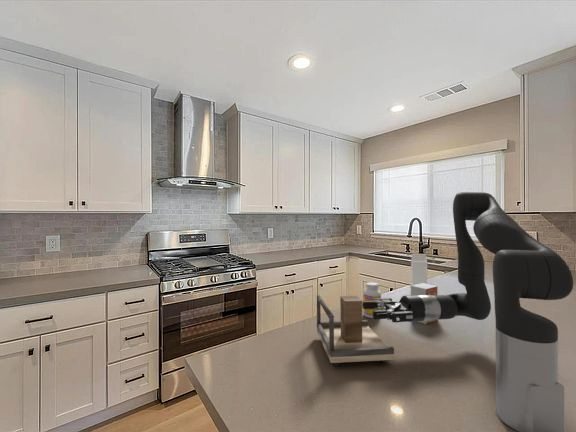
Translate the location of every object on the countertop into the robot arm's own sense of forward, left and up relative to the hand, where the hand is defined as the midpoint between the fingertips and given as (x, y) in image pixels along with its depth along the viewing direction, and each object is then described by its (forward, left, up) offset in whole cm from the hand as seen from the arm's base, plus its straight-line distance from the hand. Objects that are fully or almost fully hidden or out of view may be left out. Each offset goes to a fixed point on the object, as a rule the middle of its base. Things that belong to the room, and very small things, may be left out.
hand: (367, 310), depth 84 cm
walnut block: (0, +5, -8) cm, 10 cm away
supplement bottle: (+27, -12, -12) cm, 32 cm away
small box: (+21, -30, -12) cm, 39 cm away
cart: (0, +5, -12) cm, 13 cm away
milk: (+42, -40, -12) cm, 59 cm away
